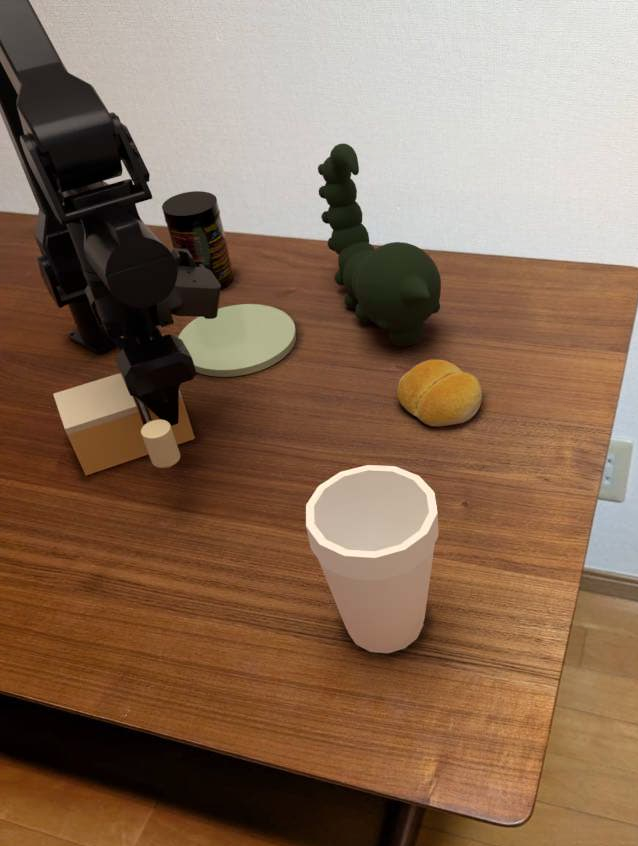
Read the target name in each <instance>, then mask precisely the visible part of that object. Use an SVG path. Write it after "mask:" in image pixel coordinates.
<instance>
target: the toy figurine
mask: <svg viewBox="0 0 638 846" xmlns="http://www.w3.org/2000/svg"><path fill="white" fill-rule="evenodd" d="M317 173H318V174H319V175H320V176H322V178H323V180H324V181H325V184H324V185H321V186H319V188H318V196H319V197H320V198H321V199H323V200H324V199H325V201H326V203H327V205H328V209H327V210H325V211H323V212H322V213H321V221H322V222H323V223H324V224H327V225H329V226H330V228H331V229H332V232H331V236H330V237H329V238H328V239H327V246H328V249H329V250H331V251H332V252H335V253H336V255H338V257H337V260H338V263H337V264H338V266H337V267H338V270H337V271H336V272H335V274H334V281H335V283H336V284H337V285H339V286H341V287H344V288H345V290H346V291H347V292H346V293H345V294H344V304H345V306H346V307H347V308H349V309H353V310H354V309H355V316H356V318H357V319H358V321H359V322H362V323H365V324H366V323H369V322H372V323H374V324H375V325H377V326H378V327H379V328H380V329H384V330H388V337H389V339H390V341H391V343H392V344H394V345H395V346H398V347H406V346H410V345H413V344H416V343H417V342H419V341H420V340H422V338H423V337H424V336H425V333H426V326H425V323H424V322H426V321H427V320H428V319H429V318H430V317H431V316H432V315H433V314H437V313H438V312H439V311H440V309H441V303H440V299H441V294H442V293H441V291H442V279H441V275H440V274H441V273H440V271H439V269H438V267H437V265H436V263H435V261H434V260H433V258H432V257H431V256H430V254H428V253H427V252H426V251H424V249H422V248H420V247H418V246H417V245H414V244H411V243H409V242H401V241H395V242H388V243H385V244H383V245H380V246H378V247H376V248H375V247H374V245H372V244H371V243H370V236H369V232H368V230H367V228H366V226H365V225H364V224H363V211H362V208H361V206H360V205H359V203H358V202H357V201H356V200H357V197H358V190H357V186H356V183H355V182H354V180H353V179H352V178H351V177H352V175H353V176H358V175H359V173H360V165H359V159H358V155H357V152H356V151H355V149H354V148H353V147H352V146H351V145H349V144H348V143H338V144H336V145H334V147H332V149H331V151H330V154H329V156H328V157H327V158H326V159H325V160H324V161H323V163H321V164H318V166H317Z"/></svg>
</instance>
